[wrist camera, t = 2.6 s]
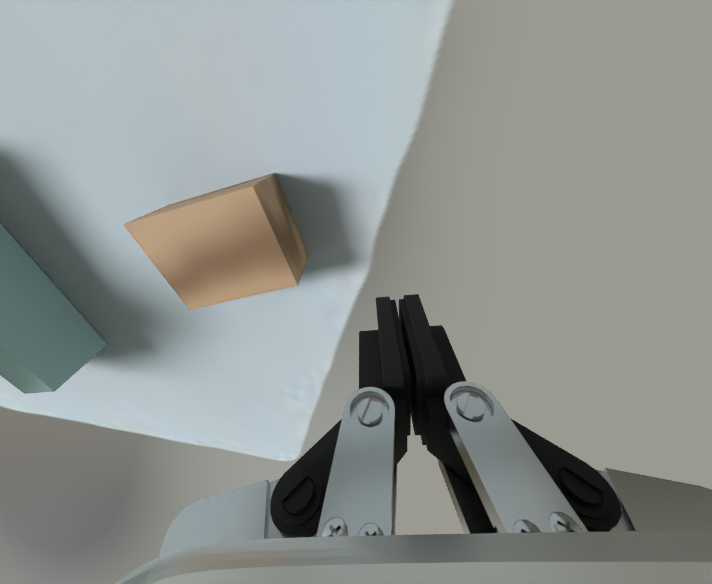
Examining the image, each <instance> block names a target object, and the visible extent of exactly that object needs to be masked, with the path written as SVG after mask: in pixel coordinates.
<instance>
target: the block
mask: <svg viewBox="0 0 712 584" xmlns="http://www.w3.org/2000/svg"><path fill="white" fill-rule="evenodd" d="M124 226H125V228H126V229H127V230H128V231H129V233H130V234H131V235H132V237H133V238H134V239H135V240H136V242H137V243H138V244H139V246H140V247H141V248H142V249H143V251H144V252H145V253H146V255H147V256H148V257H149V258H150V260H151V261H152V262H153V264H154V265H155V266H156V267H157V269H158V270H159V271H160V273H161V274H162V275H163V277H164V278H165V279H166V280H167V282H168V283H169V284H170V286H171V287H172V288H173V289H174V291H175V292H176V293H177V295H178V296H179V297H180V298H181V300H182V301H183V302H184V304H185V305H186V306H187V307H188V309H189V310H192V309H196V308H200V307H205V306H209V305H213V304H218V303H222V302H226V301H231V300H235V299H239V298H244V297H248V296H253V295H257V294H261V293H266V292H270V291H274V290H279V289H283V288H287V287H292V286H296V285H298V283H299V280H300V277H301V275H302V272H303V269H304V267H305V264H306V261H307V258H308V255H307V252H306V250H305V247H304V245H303V242H302V240H301V237H300V235H299V232H298V230H297V227H296V225H295V222H294V220H293V217H292V215H291V212H290V210H289V207H288V205H287V202H286V200H285V197H284V195H283V192H282V190H281V187H280V185H279V182H278V180H277V177H276V175H275V173H273V174H270V175H266V176H263V177H260V178H256V179H253V180H250V181H246V182H243V183H240V184H236V185H233V186H230V187H226V188H223V189H220V190H216V191H213V192H210V193H207V194H203V195H200V196H197V197H193V198H190V199H187V200H183V201H180V202H177V203H173V204H170V205H168V206H165V207H163V208H161V209H158V210H156V211H154V212H151V213H149V214H147V215H144V216H142V217H140V218H137V219H135V220H133V221H130V222H128V223H126V224H124Z"/></svg>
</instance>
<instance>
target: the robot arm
mask: <svg viewBox="0 0 712 584" xmlns="http://www.w3.org/2000/svg"><path fill="white" fill-rule="evenodd" d="M376 306H377V318H378V330H371V331H360V332H359V389H358V390H357V391H355V392H354V393H353V394H351V396H350V397H349V398H348V399H347V402H346V404H345V407H344V412H343V417H342V419H341V420H340V421H339V422H338V423H337V424H336V425H335V426H334V427H333V428H332V429H331V430H330V431H329V432H327V433H326V435H324V436H323V437H322V438H321V439H320V440H319V441H318V442H317V443H316V444H315V445H314V446H313V447H312V448H311V449H310V450H309V451H308V452H306V453H305V454H304V456H302V457H301V458H300V459H299V460H298V461H297V462H296V463H295V464H294V465H293V466H292V467H291V468H290V469H289V470H288V471H287V472H285V473H284V475H283V476H282V477H281V478H280V479H278V480H275V481H272V482H268V480H264V481H261V482H257V483H254V484H251V485H248V486H244V487H241V488H238V489H235V490H231V491H228V492H225V493H221V494H218V495H215V496H211V497H208V498H205V499H202V500H198V501H196V502H194V503H192V504H190V505H189V506H187V507H186V508H185V509H184V510H183V511H182V512H180V513H179V514H178V515H177V517H176V518H175V520H174V521H173V522H172V524H171V525H170V527H169V529H168V532H167V533H166V536H165V538H164V541H163V544H162V547H161V551H160V554H159V557H158V559H156V560H153V561H151V562H149V563H147V564H145V565H143V566H141V567H139V568H137V569H136V570H134V571H132V572H130V573H128V574H127V575H125V576H123V577H122V578H120V579H119V580H117V581H116V582H115V583H113V584H712V490H711V489H708V488H704V487H702V486H697V485H692V484H687V483H682V482H676V481H671V480H666V479H661V478H656V477H650V476H645V475H640V474H635V473H629V472H624V471H619V470H614V469H608V468H605V469H604V470H603V471H599V470H595V469H594V468H592V467H590V466H589V465H588V464H587V463H585V462H583V461H582V460H580V459H578V458H577V457H575V456H573V455H572V454H570V453H568V452H567V451H565V450H563V449H561V448H559V447H558V446H556V445H555V444H553V443H551V442H550V441H548V440H546V439H544V438H543V437H541V436H539V435H538V434H536V433H534V432H532V431H531V430H529V429H527V428H526V427H524V426H522V425H520V424H519V423H517V422H515V421H514V420H512V419H510V417H509V416H508V414H507V413H506V412H505V410H504V409H503V407H502V406H501V405H500V403H499V401H498V400H497V399H496V397H495V396H494V395H493V394H492V393H491V392H490V391H489V390H487V389H486V388H485V387H483V386H480V385H478V384H476V383H472V382H467V381H466V380H465V377H464V375H463V372H462V370H461V368H460V365H459V363H458V360H457V358H456V356H455V353H454V351H453V349H452V346H451V344H450V342H449V339H448V337H447V335H446V332H445V330H444V328H443V327H442V326H441V325H440V326H429V323H428V320H427V317H426V315H425V312H424V309H423V306H422V304H421V301H420V298H419V295H418V294H416V295H404V299H399V317H398V312H397V307H396V302H395V300H390V298H389V297H380V298H376ZM411 416H412V422H413V428H414V433H415V435H421V439H422V445H427V450H428V451H429V452H430V453H432V454H433V455H434V456H436V457H437V459H438V464H439V467H440V469H441V472H442V475H443V478H444V480H445V483H446V486H447V488H448V491H449V493H450V496H451V499H452V501H453V504H454V507H455V510H456V512H457V515H458V517H459V520H460V523H461V525H462V528H463V531H464V533H465V534H433V535H396V534H395V533H396V496H397V463H398V462H399V461H400V460H401V458H402V457H403V456H404V455H405V453H406V452H407V435H410V417H411Z"/></svg>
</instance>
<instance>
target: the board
mask: <svg viewBox="0 0 712 584" xmlns="http://www.w3.org/2000/svg"><path fill="white" fill-rule="evenodd" d="M106 345H107V343H106V342H105V341H104V340H103V339H102V338H101V337H100V335H99V334H98V333H97V332H96V331H95V330H94V329H93V327H92V326H91V325H90V324H89V323H88V322H87V321H86V320H85V318H84V317H83V316H82V315H81V314H80V313H79V312H78V310H77V309H76V308H75V307H74V306H73V305H72V304H71V303H70V301H69V300H68V299H67V298H66V297H65V296H64V295H63V293H62V292H61V291H60V290H59V289H58V288H57V287H56V286H55V284H54V283H53V282H52V281H51V280H50V279H49V278H48V277H47V275H46V274H45V273H44V272H43V271H42V270H41V269H40V267H39V266H38V265H37V264H36V263H35V262H34V261H33V260H32V258H31V257H30V256H29V255H28V254H27V253H26V252H25V250H24V249H23V248H22V247H21V246H20V245H19V244H18V243H17V241H16V240H15V239H14V238H13V237H12V236H11V235H10V233H9V232H8V231H7V230H6V229H5V228H4V227H3V226H2V224H1V223H0V375H1V376H2V377H3V378H5V379H6V380H7V381H9V382H10V383H11V384H13V385H14V386H15V387H17V388H18V389H19V390H21V391H22V392H23V393H39V392H54V391H56V390H57V389H58V388H59V387H60V386H61V385H62V384H63V383H65V382H66V381H67V380H68V379H69V378H70V377H71V376H72V375H74V374H75V373H76V372H77V371H78V370H79V369H80V368H81V367H83V366H84V365H85V364H86V363H87V362H88V361H89V360H90V359H92V358H93V357H94V356H95V355H96V354H97V353H98V352H99V351H101V350H102V349H103V348H104V347H105V346H106Z"/></svg>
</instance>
